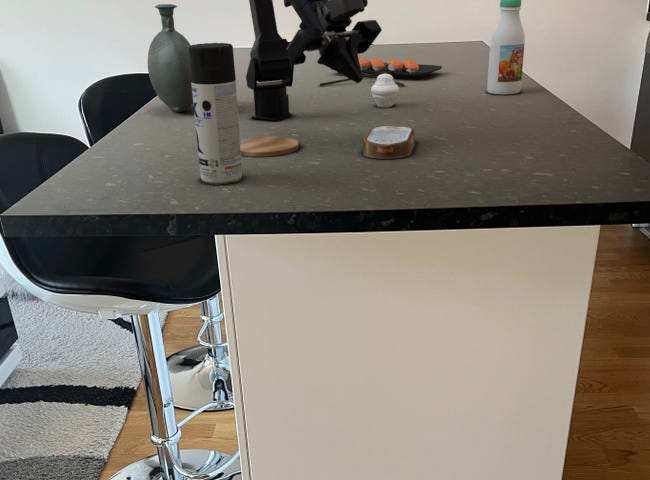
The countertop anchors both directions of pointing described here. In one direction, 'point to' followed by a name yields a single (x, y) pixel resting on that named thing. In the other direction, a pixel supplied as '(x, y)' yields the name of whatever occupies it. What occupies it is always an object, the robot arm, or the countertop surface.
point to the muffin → (384, 90)
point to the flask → (170, 63)
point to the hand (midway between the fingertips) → (360, 81)
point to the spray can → (216, 112)
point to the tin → (389, 142)
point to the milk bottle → (506, 51)
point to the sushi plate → (392, 69)
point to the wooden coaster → (267, 146)
